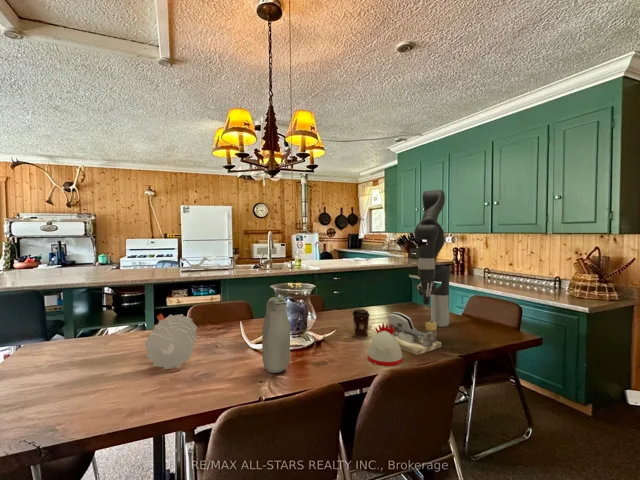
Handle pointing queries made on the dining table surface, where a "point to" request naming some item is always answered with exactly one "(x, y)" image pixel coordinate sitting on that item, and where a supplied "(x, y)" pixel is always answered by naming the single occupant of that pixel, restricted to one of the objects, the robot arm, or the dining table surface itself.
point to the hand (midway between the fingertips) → (426, 304)
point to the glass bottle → (276, 336)
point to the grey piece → (400, 320)
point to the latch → (431, 325)
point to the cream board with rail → (416, 341)
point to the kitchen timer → (385, 348)
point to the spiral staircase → (171, 341)
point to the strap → (410, 330)
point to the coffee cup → (361, 323)
